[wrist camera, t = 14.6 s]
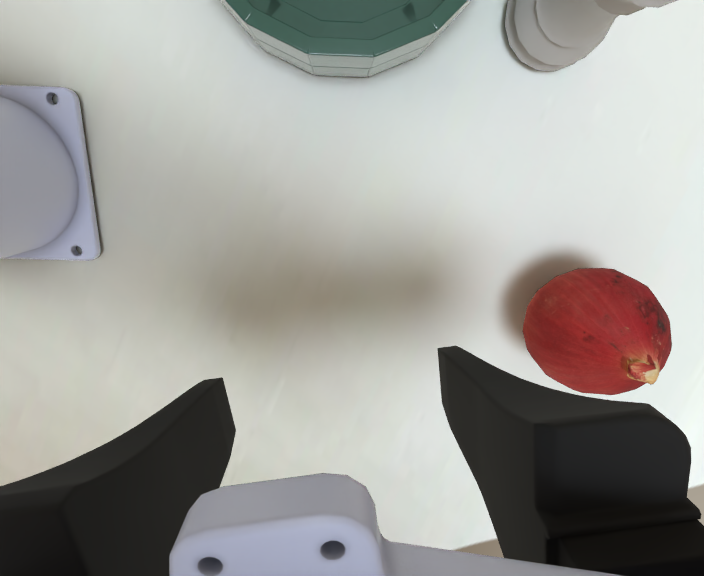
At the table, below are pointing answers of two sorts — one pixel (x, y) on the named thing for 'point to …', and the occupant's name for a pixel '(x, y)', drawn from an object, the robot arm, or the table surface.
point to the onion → (597, 331)
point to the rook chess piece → (563, 28)
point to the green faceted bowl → (345, 31)
